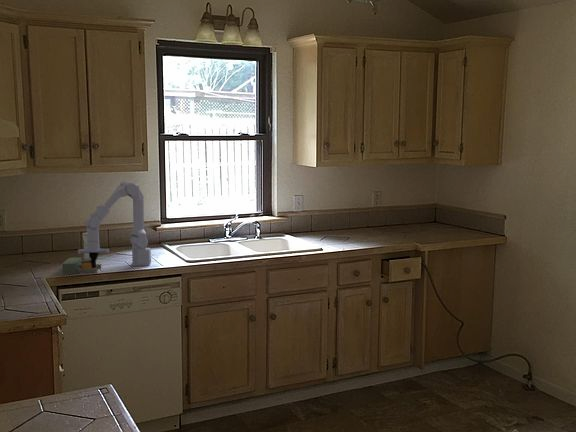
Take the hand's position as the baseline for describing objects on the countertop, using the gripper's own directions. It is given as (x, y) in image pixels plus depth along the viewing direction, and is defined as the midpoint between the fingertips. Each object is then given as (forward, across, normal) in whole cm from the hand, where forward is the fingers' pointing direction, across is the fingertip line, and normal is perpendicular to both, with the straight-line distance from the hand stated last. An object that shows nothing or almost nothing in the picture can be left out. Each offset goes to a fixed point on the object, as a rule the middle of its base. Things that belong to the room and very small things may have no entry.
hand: (94, 267), depth 306 cm
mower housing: (+2, +6, -1) cm, 6 cm away
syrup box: (+2, +6, -28) cm, 28 cm away
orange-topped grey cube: (+1, +3, -1) cm, 3 cm away
